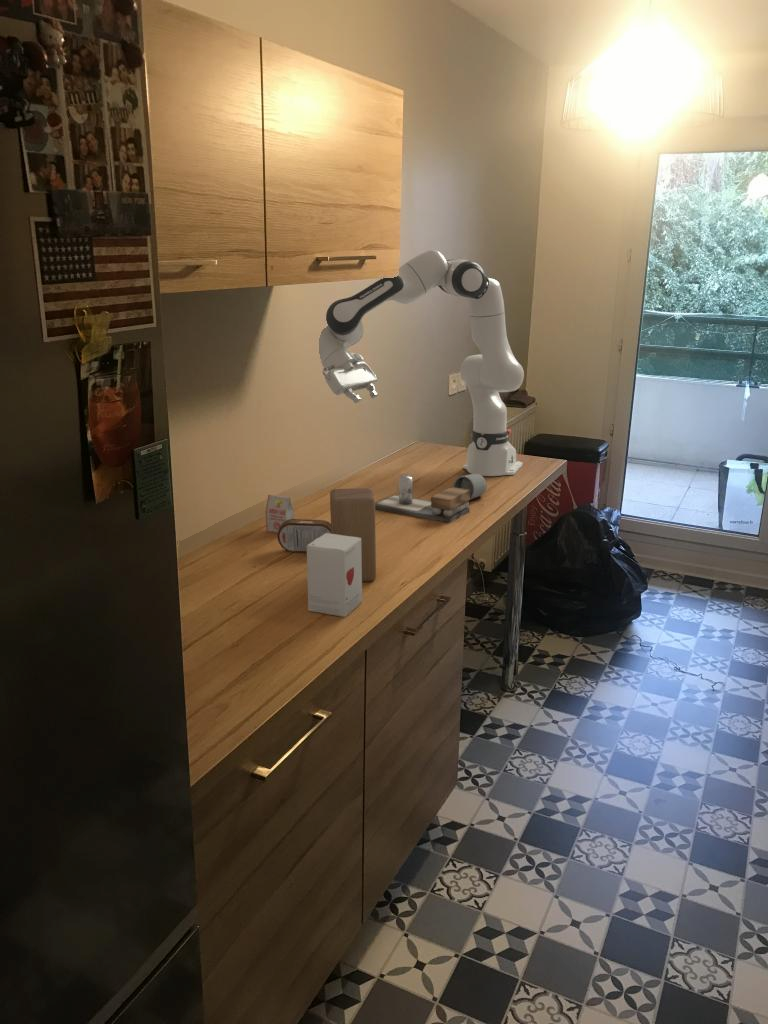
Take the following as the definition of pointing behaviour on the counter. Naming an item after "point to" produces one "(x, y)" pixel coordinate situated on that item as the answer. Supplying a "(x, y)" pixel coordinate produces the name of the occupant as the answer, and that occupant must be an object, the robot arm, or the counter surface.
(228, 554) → the counter surface
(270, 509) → the tea bag
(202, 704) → the counter surface
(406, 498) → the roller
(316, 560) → the supplement box
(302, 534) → the tin
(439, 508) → the grey board with block
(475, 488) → the ceramic mug
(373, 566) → the wooden block
